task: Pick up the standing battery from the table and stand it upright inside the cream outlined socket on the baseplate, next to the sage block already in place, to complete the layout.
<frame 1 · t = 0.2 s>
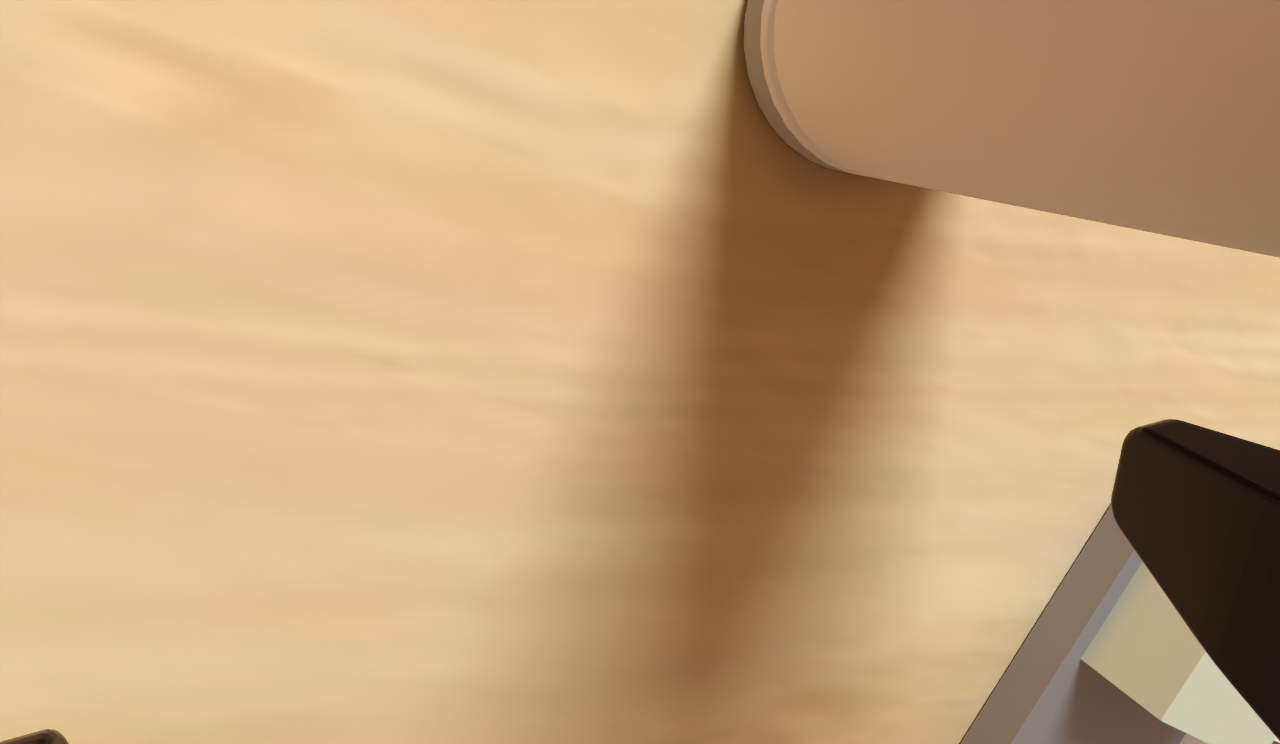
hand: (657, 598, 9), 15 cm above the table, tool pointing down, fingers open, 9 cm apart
sage block: (1165, 622, 30), resting on baseplate
travel mug: (855, 33, 24), on the table
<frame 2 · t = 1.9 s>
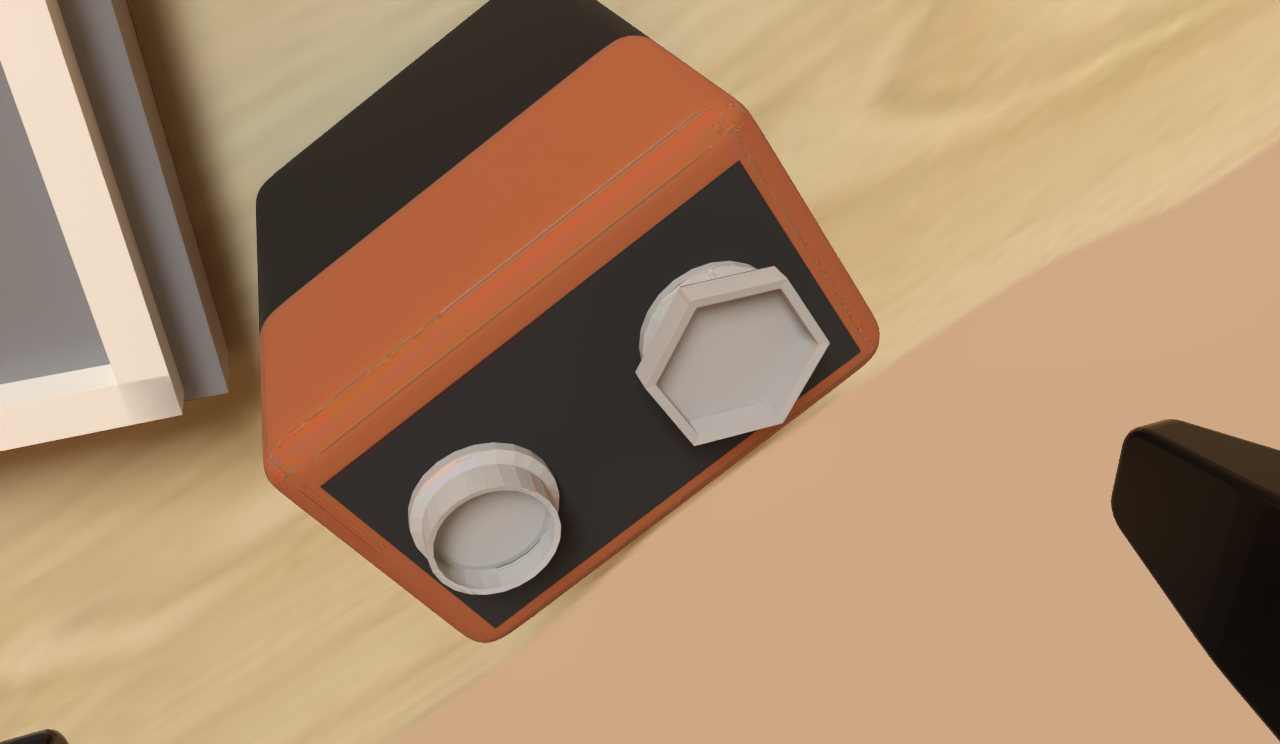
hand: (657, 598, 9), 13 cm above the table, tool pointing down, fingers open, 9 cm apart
battery: (464, 159, 20), on the table
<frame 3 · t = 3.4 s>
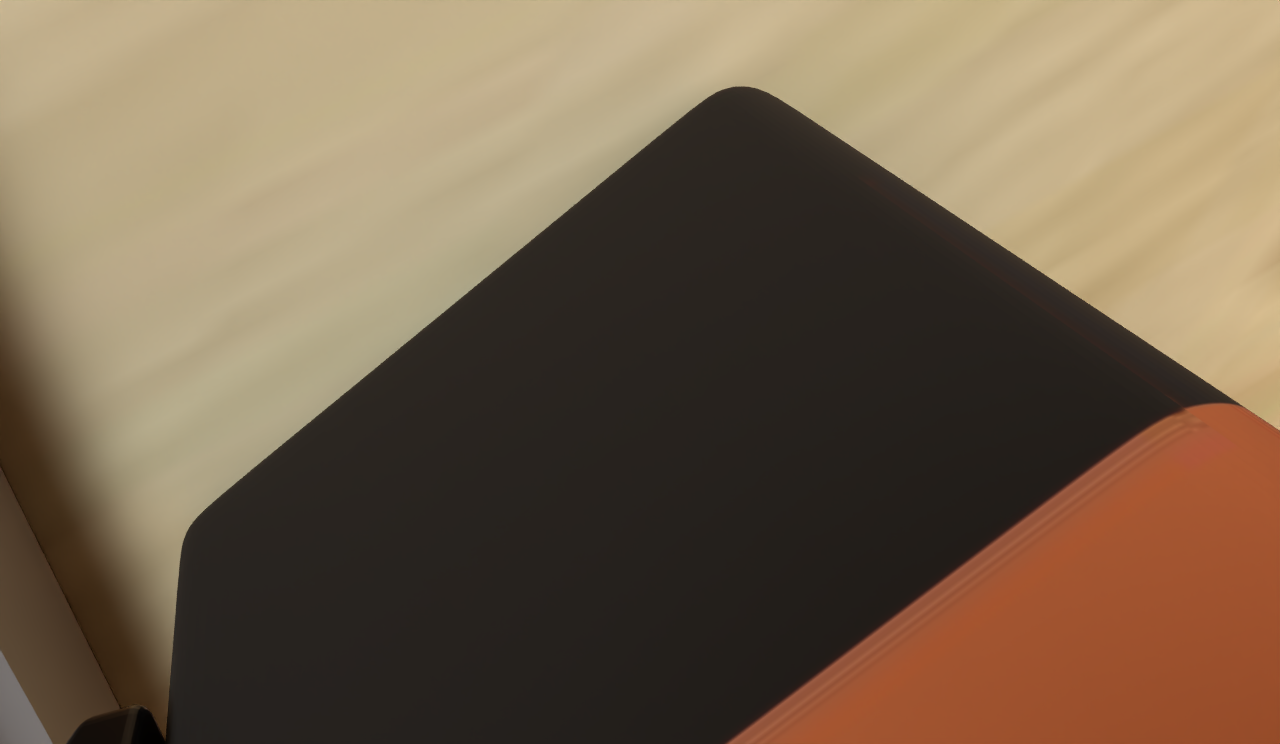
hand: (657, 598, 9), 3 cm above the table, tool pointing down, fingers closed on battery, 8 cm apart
battery: (572, 422, 11), on the table, touching gripper
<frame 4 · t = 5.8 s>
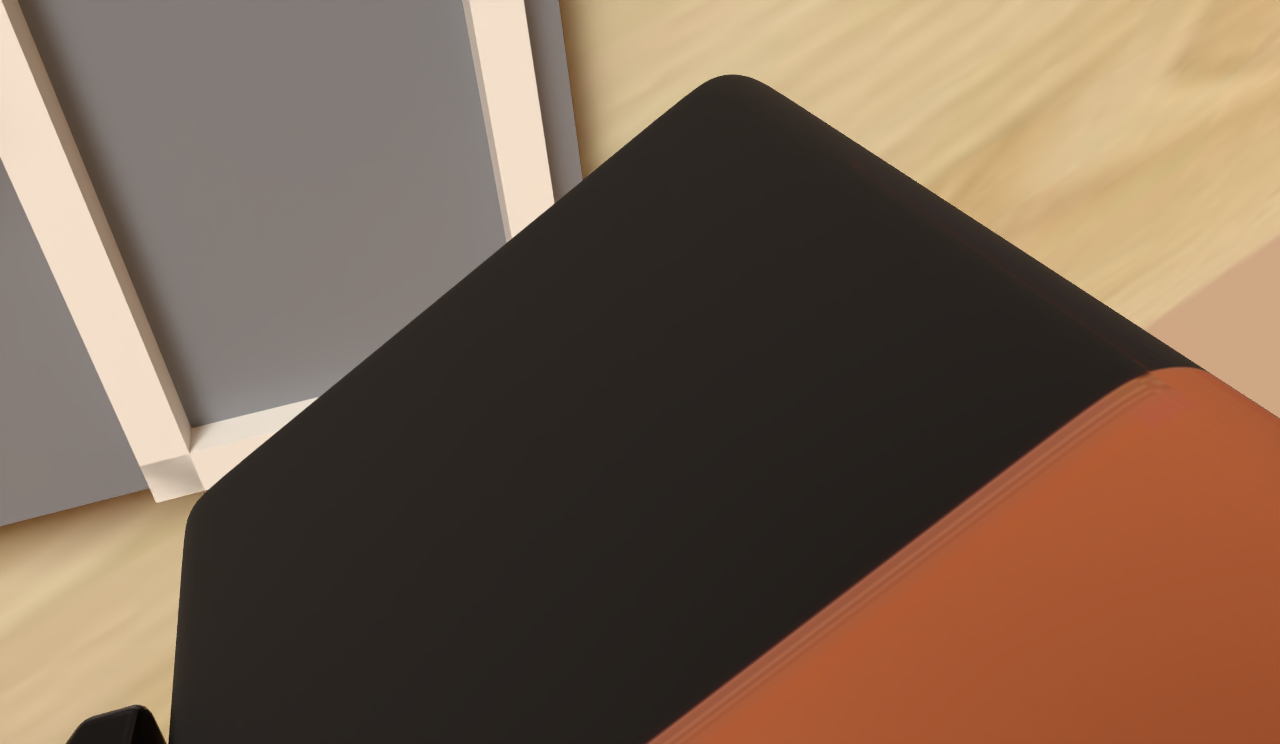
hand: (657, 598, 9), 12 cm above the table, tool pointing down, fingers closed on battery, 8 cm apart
battery: (568, 406, 11), point 9 cm above the table, touching gripper
baseplate: (102, 58, 16), on the table
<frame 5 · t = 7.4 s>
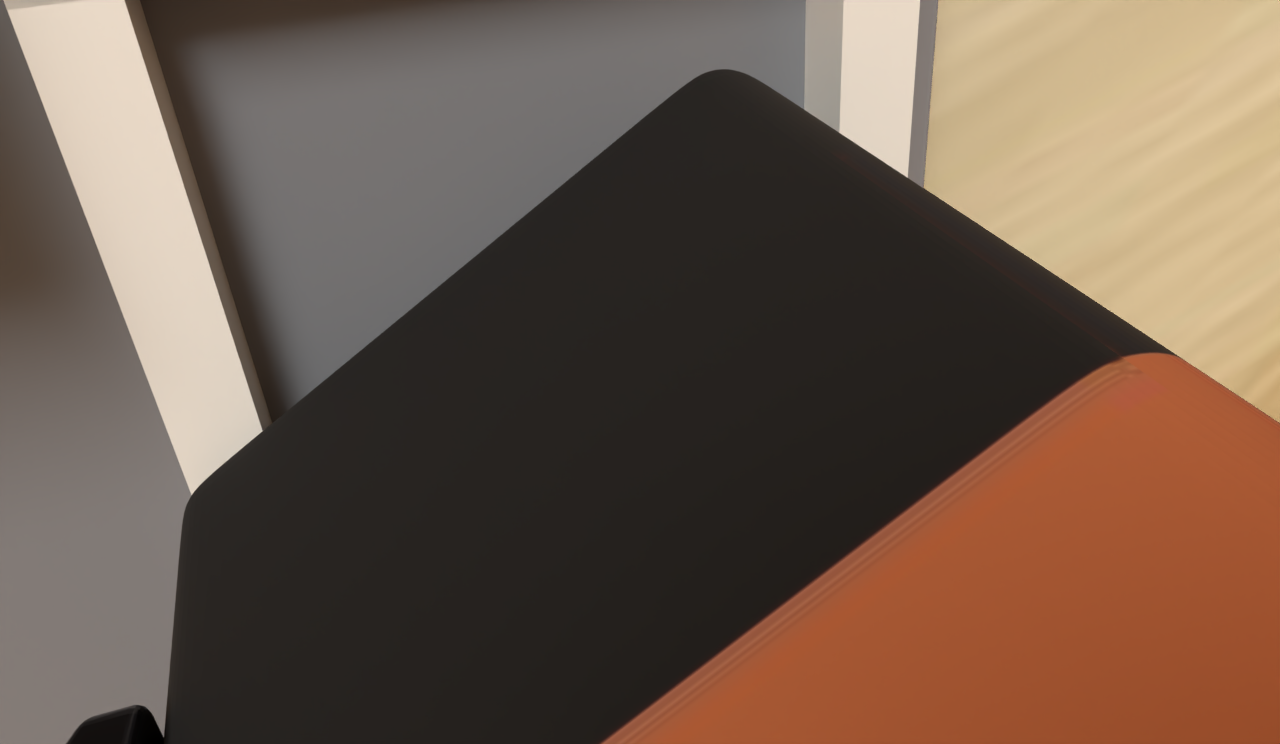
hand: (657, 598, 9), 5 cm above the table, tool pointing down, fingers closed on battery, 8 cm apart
battery: (563, 398, 11), point 2 cm above the table, touching baseplate, gripper
baseplate: (282, 230, 11), on the table
when the fingers open (5 cm above the table, at t = 8.3 s): battery stays where it is, resting on baseplate.
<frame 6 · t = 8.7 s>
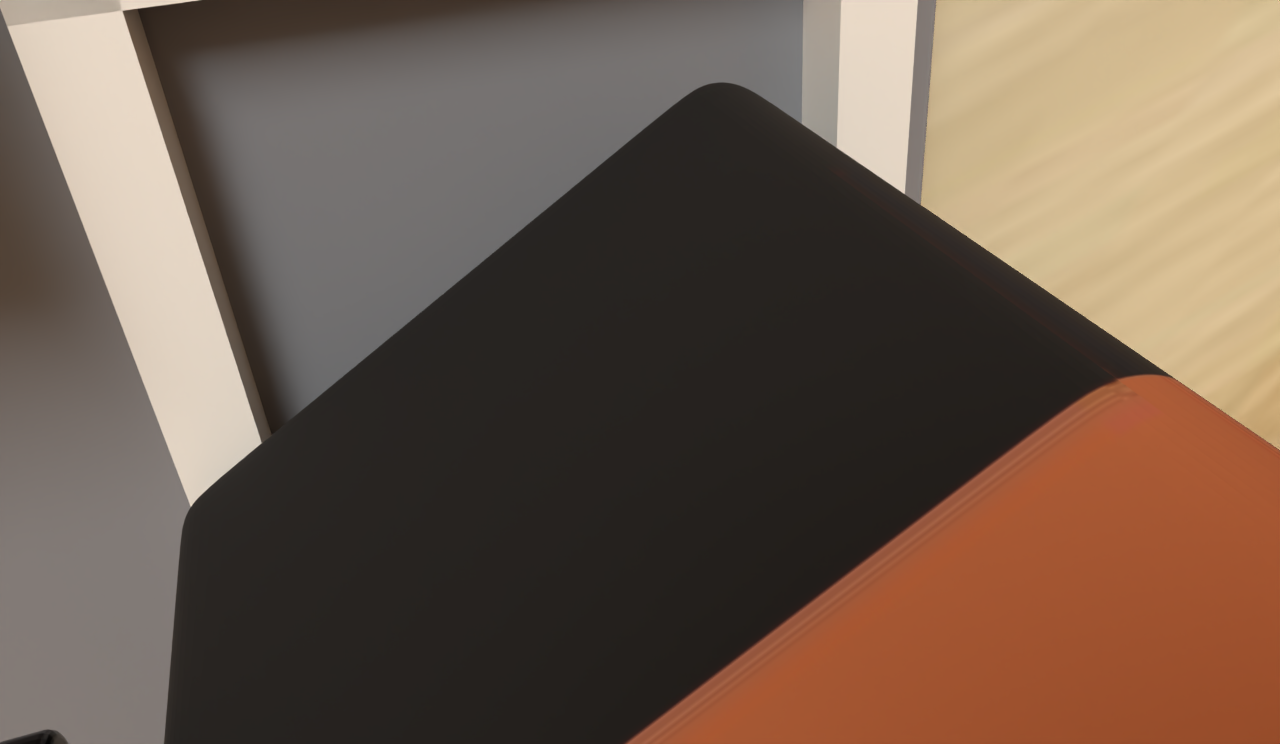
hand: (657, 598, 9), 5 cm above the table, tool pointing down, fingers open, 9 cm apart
battery: (561, 408, 11), point 2 cm above the table, touching baseplate
baseplate: (281, 242, 12), on the table
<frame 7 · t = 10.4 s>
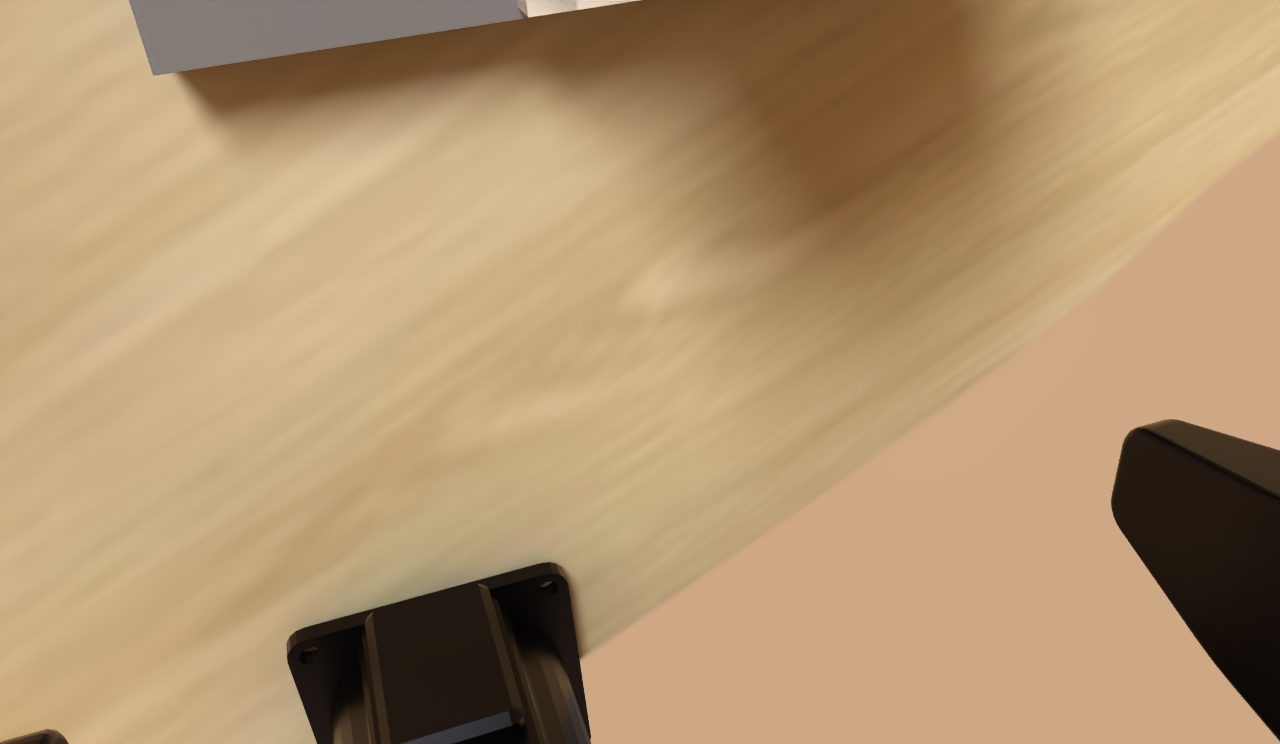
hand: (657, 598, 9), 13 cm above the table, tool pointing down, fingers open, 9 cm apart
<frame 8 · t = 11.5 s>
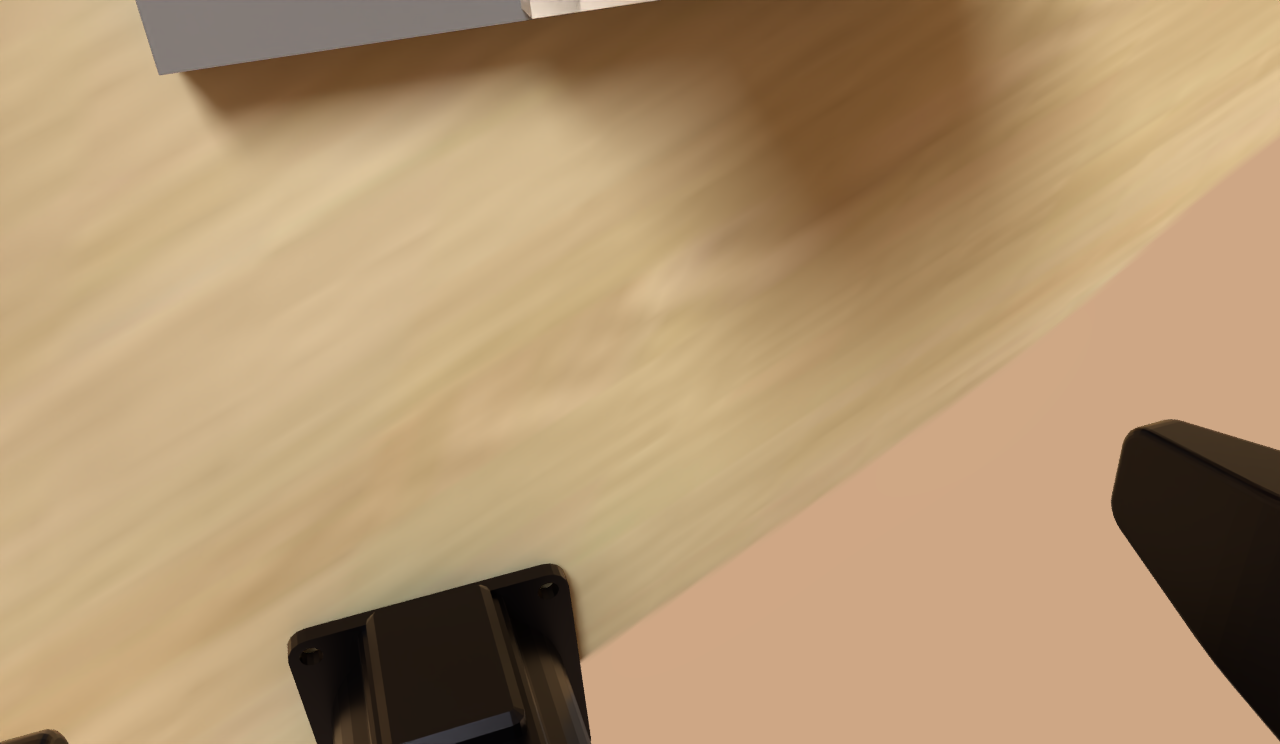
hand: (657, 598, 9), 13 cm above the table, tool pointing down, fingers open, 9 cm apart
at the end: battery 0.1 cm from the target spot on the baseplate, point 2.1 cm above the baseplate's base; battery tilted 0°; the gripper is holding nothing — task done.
